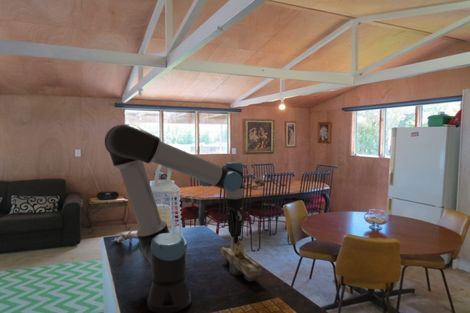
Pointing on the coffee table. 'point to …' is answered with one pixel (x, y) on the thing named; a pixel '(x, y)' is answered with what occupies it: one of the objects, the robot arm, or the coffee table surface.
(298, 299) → the coffee table surface
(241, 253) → the rider
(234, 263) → the stand
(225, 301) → the coffee table surface
